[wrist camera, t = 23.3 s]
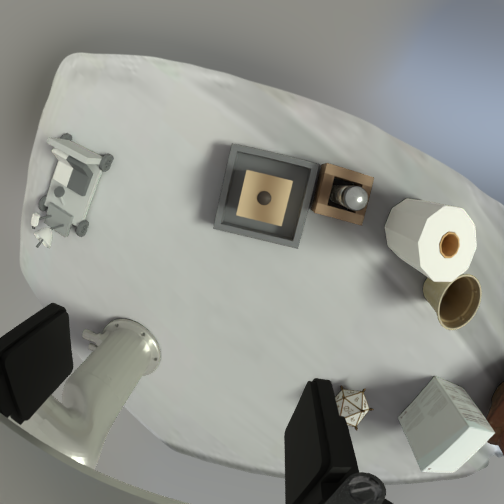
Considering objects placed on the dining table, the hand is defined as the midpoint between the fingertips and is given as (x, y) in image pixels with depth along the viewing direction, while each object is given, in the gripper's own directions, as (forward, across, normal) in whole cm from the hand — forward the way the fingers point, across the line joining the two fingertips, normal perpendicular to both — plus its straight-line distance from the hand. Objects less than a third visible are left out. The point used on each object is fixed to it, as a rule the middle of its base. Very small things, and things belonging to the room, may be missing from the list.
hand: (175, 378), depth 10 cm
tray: (+36, -2, -5) cm, 37 cm away
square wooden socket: (+36, -12, -8) cm, 39 cm away
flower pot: (+36, -35, +2) cm, 51 cm away
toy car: (+37, +32, +1) cm, 49 cm away
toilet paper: (+37, -26, -6) cm, 45 cm away
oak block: (+36, -1, -5) cm, 36 cm away
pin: (+36, -12, -8) cm, 39 cm away
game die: (+36, -26, +28) cm, 53 cm away
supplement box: (+37, -50, +29) cm, 68 cm away
